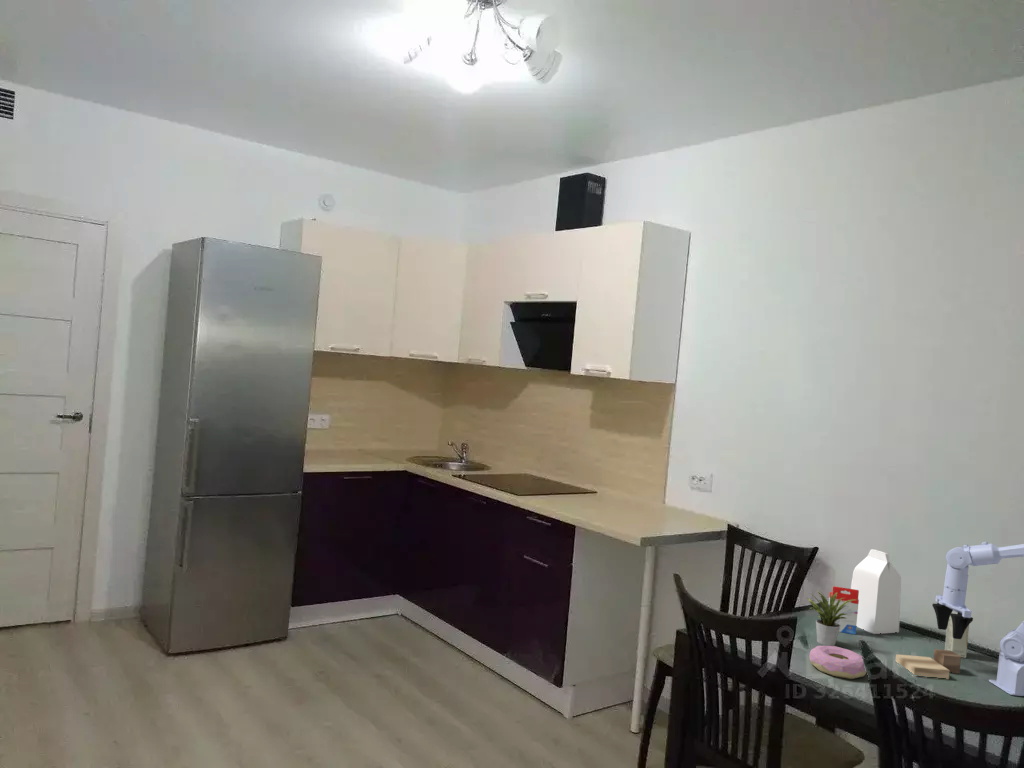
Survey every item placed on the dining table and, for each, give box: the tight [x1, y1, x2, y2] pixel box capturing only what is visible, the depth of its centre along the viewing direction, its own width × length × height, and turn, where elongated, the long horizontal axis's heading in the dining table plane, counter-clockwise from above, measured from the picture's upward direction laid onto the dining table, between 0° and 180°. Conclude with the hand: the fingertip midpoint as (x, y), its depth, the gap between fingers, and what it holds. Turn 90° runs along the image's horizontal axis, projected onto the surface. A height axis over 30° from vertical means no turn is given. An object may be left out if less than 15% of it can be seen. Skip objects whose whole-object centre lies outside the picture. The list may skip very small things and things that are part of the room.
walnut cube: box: [932, 648, 962, 674], centre depth 222 cm, size 5×5×5 cm
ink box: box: [828, 585, 859, 635], centre depth 251 cm, size 8×5×15 cm, turn 74°
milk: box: [850, 548, 902, 635], centre depth 258 cm, size 12×12×26 cm
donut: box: [808, 645, 867, 680], centre depth 213 cm, size 16×15×5 cm
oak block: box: [895, 653, 950, 680], centre depth 219 cm, size 10×10×3 cm
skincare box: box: [944, 612, 970, 659], centre depth 237 cm, size 6×4×12 cm
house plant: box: [806, 590, 853, 646], centre depth 237 cm, size 14×14×16 cm
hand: (949, 633), depth 222 cm, fingers open, 7 cm apart
